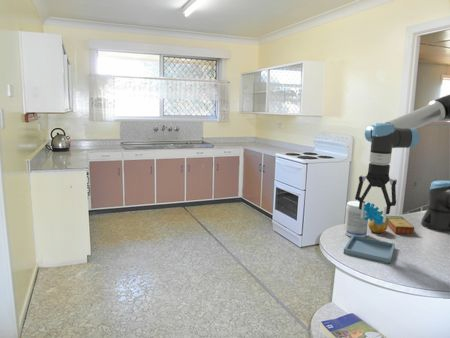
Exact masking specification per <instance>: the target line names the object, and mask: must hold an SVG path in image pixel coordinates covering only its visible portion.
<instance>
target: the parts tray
mask: <svg viewBox="0 0 450 338" xmlns="http://www.w3.org/2000/svg"><path fill="white" fill-rule="evenodd" d="M395 247H396V243H393V242H388V241H383V240H378V239H373V238H368V237H360V236H355V235H352V237H350V238H349V240H348V242H347V243H346V245H345V247H344V249H343V254H344V255H349V256H353V257H357V258H362V259H365V260H370V261H374V262H379V263H382V264H383V263H384V264H387V265H390V264H391V261H392V258H393V255H394V252H395Z"/></svg>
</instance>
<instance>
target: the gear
mask: <svg viewBox="0 0 450 338" xmlns="http://www.w3.org/2000/svg"><path fill="white" fill-rule="evenodd" d="M366 203H367V204H365V205H364V206H365V208H364V210H365V211H367V213H366V216H367V217H366V218H364V220H365V221H366V220H368V221H369V220H370V221H372V220H373V219H374V220H375V221H374V224H378V225H382V224H383V223H384V222H383V216H384V215H383V214H384V210H380V208H379V207H378V206H376V205H375V204H374V203H370V201H369V202H366ZM378 210H380V211H378ZM377 221H378V222H377Z"/></svg>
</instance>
